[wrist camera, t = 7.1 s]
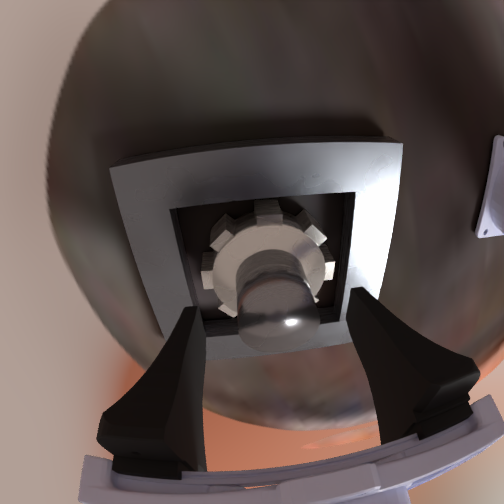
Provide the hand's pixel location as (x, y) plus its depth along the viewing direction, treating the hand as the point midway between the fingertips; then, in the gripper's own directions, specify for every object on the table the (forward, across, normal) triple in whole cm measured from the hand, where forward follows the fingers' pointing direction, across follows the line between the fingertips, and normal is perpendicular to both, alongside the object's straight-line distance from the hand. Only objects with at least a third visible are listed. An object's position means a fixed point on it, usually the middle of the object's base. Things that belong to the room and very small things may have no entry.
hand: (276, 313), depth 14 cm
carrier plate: (+4, 0, 0) cm, 4 cm away
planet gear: (+4, 0, 0) cm, 4 cm away
